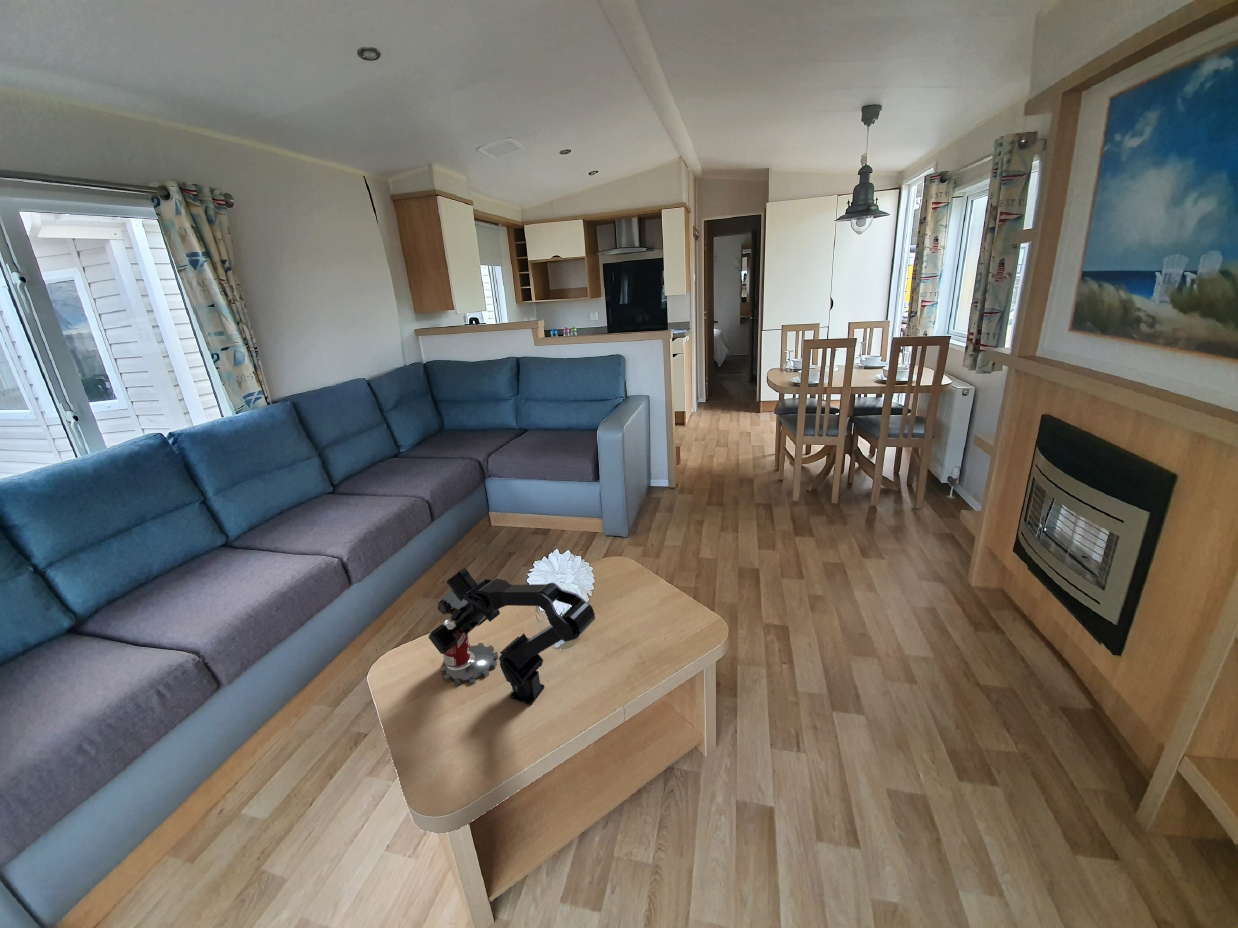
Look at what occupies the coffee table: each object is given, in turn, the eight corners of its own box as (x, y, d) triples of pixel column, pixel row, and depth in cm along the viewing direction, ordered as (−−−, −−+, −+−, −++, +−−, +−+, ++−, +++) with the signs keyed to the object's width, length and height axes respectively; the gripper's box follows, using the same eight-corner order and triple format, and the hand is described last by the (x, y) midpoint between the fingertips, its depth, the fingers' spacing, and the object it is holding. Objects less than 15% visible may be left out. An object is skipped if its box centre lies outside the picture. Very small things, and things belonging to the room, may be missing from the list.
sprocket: (508, 653, 140) (508, 649, 139) (474, 691, 127) (473, 687, 126) (467, 641, 146) (466, 637, 145) (429, 676, 133) (429, 672, 132)
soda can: (453, 672, 131) (449, 633, 128) (439, 661, 135) (435, 623, 132) (475, 660, 136) (471, 622, 133) (461, 650, 140) (458, 613, 137)
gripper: (482, 569, 134) (459, 594, 143) (426, 606, 119) (405, 631, 128) (507, 601, 133) (483, 624, 142) (455, 642, 118) (431, 665, 126)
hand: (452, 634), depth 134 cm, fingers closed on soda can, 6 cm apart
